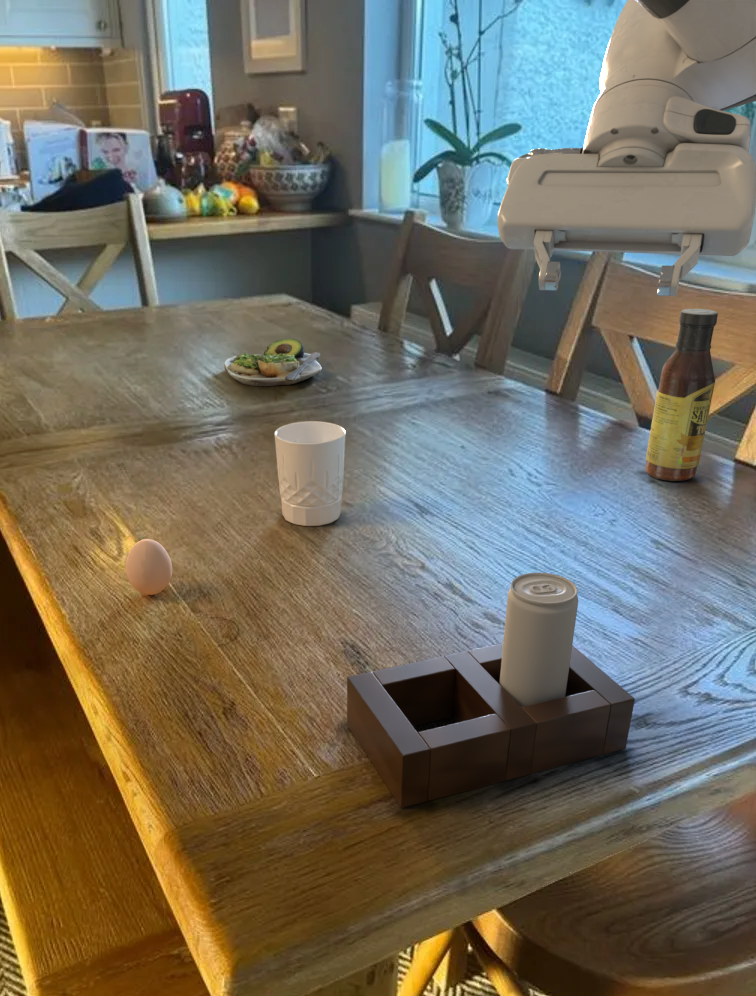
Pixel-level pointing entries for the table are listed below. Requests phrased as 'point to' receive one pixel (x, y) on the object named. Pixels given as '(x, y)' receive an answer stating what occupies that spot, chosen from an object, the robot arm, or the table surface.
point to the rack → (478, 723)
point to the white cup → (310, 471)
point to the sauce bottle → (683, 400)
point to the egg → (148, 567)
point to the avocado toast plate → (274, 365)
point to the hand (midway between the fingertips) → (605, 289)
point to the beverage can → (538, 637)
